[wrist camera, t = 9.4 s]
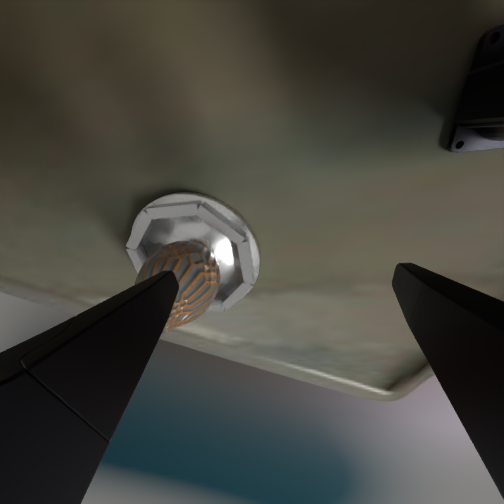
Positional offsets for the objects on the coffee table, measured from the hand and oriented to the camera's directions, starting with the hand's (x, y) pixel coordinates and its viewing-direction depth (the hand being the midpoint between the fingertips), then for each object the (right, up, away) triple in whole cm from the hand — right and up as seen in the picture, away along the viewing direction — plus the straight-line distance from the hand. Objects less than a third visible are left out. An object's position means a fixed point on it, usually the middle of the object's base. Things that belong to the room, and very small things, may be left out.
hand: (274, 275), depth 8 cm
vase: (-7, 0, +14) cm, 15 cm away
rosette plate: (-7, +1, +14) cm, 16 cm away
